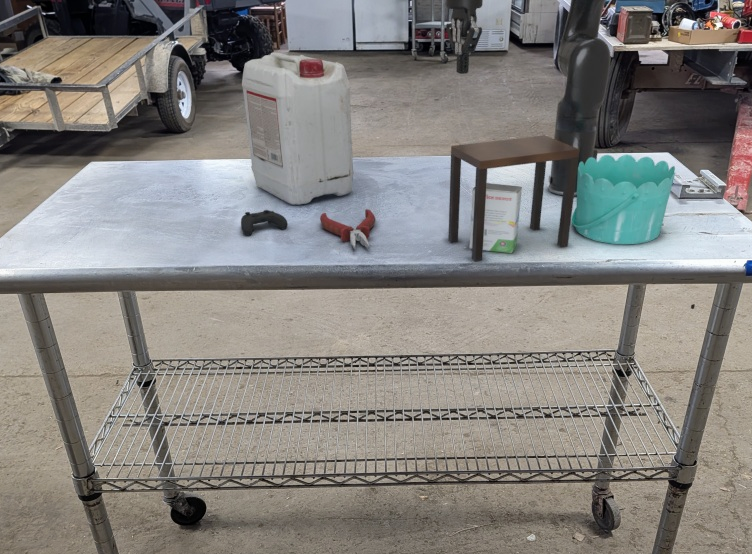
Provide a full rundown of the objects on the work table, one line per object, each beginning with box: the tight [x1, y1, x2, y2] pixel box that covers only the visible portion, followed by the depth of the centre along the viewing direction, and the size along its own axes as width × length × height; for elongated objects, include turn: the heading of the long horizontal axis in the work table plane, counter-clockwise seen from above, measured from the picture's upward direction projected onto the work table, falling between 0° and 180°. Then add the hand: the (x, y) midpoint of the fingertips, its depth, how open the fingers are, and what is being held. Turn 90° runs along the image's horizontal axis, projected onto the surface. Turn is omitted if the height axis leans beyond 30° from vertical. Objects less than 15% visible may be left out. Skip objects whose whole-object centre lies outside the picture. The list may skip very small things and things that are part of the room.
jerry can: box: [241, 52, 355, 206], centre depth 166 cm, size 24×19×30 cm
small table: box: [447, 135, 579, 262], centre depth 136 cm, size 20×12×18 cm, turn 110°
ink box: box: [469, 182, 523, 254], centre depth 137 cm, size 9×5×12 cm, turn 70°
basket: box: [571, 154, 676, 246], centre depth 143 cm, size 19×18×13 cm
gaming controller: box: [240, 209, 288, 236], centre depth 151 cm, size 10×5×6 cm
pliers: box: [319, 208, 376, 251], centre depth 145 cm, size 12×20×3 cm, turn 12°
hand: (462, 73), depth 156 cm, fingers closed
